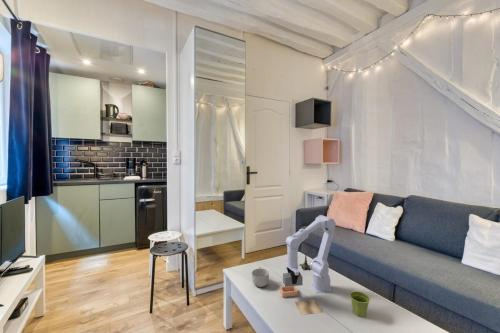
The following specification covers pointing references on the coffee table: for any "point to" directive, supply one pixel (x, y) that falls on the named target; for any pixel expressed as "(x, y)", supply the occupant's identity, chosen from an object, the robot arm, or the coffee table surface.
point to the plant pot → (359, 303)
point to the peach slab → (288, 291)
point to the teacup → (260, 277)
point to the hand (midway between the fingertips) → (292, 280)
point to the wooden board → (308, 307)
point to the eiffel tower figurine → (305, 264)
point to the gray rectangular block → (288, 280)
